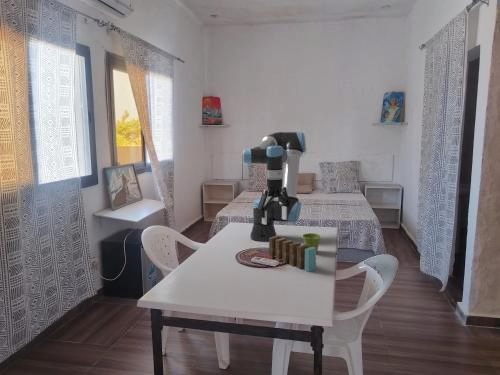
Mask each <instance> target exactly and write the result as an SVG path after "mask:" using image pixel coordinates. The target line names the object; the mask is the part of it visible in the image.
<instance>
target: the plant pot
mask: <svg viewBox="0 0 500 375" xmlns="http://www.w3.org/2000/svg"><path fill="white" fill-rule="evenodd" d="M301 237H302V239H303V245H304V244H305V245H308V248H310V247H315V248H316V254H317V253H318V252H319V251H318V250H319V244H320V241H321V238H322V236H321V235H320V234H318V233H304V234H302V235H301Z"/></svg>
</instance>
